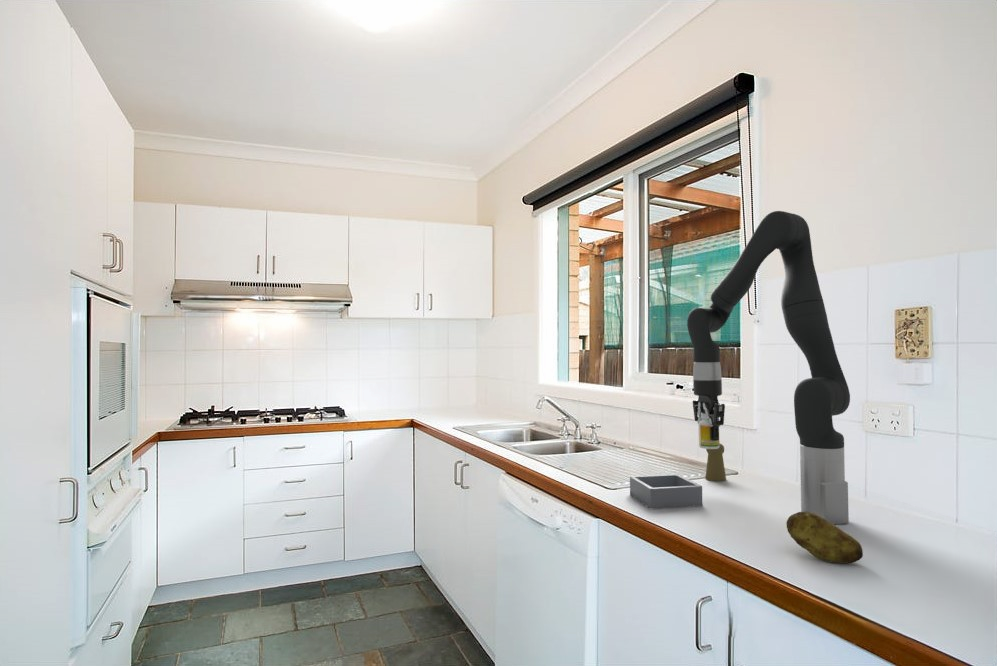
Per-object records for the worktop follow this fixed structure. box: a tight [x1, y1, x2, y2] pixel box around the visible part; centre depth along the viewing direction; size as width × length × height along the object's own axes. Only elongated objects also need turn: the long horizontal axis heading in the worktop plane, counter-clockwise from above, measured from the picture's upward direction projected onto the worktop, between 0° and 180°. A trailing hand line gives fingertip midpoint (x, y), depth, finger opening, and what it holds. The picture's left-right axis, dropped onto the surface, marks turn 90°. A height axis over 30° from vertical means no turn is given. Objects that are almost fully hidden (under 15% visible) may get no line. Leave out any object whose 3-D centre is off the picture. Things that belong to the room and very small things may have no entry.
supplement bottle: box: [698, 413, 720, 450], centre depth 167 cm, size 5×5×10 cm
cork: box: [704, 442, 727, 483], centre depth 181 cm, size 6×6×11 cm
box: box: [629, 473, 703, 509], centre depth 159 cm, size 14×14×5 cm
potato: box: [786, 511, 864, 564], centre depth 116 cm, size 8×13×8 cm, turn 23°
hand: (709, 438), depth 167 cm, fingers closed on supplement bottle, 5 cm apart
